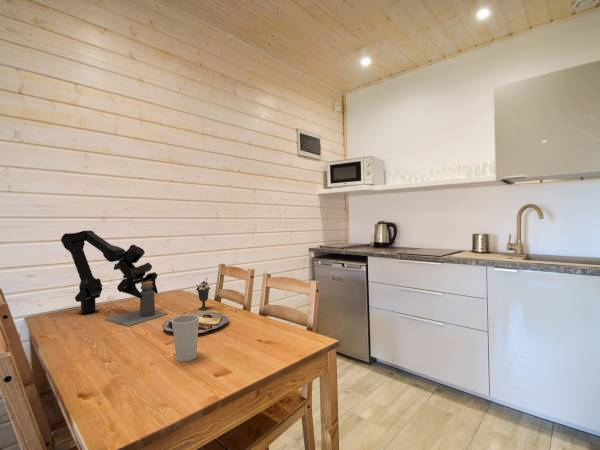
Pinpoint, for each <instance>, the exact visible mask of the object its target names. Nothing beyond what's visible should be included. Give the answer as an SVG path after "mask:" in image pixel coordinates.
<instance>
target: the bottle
mask: <svg viewBox="0 0 600 450" xmlns="http://www.w3.org/2000/svg"><path fill="white" fill-rule="evenodd" d="M152 283H153V282H152V281H145V282H141V283H140V284H141V286H140V289H141V291H139V292H140V293H141V295H142V298H141V299H140V298H139V310H140V316H141V317H149V316H153V315H154V314H155V311H156V307H155V305H156V304H155V301H156V300H155V293H154V291H153V290H152V288H153V285H152Z"/></svg>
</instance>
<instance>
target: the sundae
mask: <svg viewBox="0 0 600 450" xmlns="http://www.w3.org/2000/svg"><path fill="white" fill-rule="evenodd" d="M207 280H208V277H206V278H205V280H203V281H202V282H200V284H196V286H197V288H196V289H195V290H196V291H197V293H198V300H199V301H200V302H201V307H199V308H198V311H207V310H209V309H210V306H209V307H208V306H206V301H208V299H209V293H210V290H211V286H210V285H209V284H208V281H207Z"/></svg>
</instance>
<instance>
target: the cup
mask: <svg viewBox="0 0 600 450" xmlns="http://www.w3.org/2000/svg"><path fill="white" fill-rule="evenodd" d="M182 315H183V314H182ZM182 315H179V317H177V316H175V317H176V318H175V317H173V318H174V319H172V318H171V319H172V328H173V331H172V332H173V343H174V351H175V355H174V357H175V361H177V362H189V361H193V360H194V359H196V358H197V357H198V340H199V339H198V335H199V333H198V332H199V331H198V325H199V316H197V315H183V316H182Z"/></svg>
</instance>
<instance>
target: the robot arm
mask: <svg viewBox="0 0 600 450" xmlns="http://www.w3.org/2000/svg"><path fill="white" fill-rule="evenodd" d="M60 242H61V244H62V245H63V247H64V248H65V250H67V251H68V252H70V254H71V255H70V256H71V257H72V261H73V263H74V266H75V268H76V271H77V275H78V276H79V279H80V283H79V286H78V288H79V292H78V293H77V294H76V295H75V297H74V300H75V302H80V311H78V312H77V314H80V315H83V316H85V315H90V314H94V313H97V312H100V310H98V309H96V299H98V298H99V299H100V297H101V294H102V291H103V284H102V282H101V281H102V280H101V279H100V278H95V277H94V275H93V273H92V270H91V267H90V265H89V262H88V259H87V255H86V253H85V250H84V247H85V244H86V243H85V242H87V243H88V244H90V245H92V246H93V247H94V248H96V249H97V250H99V251H100V253H102V254H103V257H104V258H105V259H106V260H107V261H108V263H109V262H110V263H113V262H116V263H114V267H113V271H116V270H119V271H120V272H121V273H122V274H123V275H122V278H123V279H122V280H121V281H120V282H119V283H118V285H117V287H116V288H117V291H118V292H119V293H123V294H128V295H131V296H134V297H136V298H139V300H140V299H141V298H142V295H141V293H140V292H141V291H140V290H139V289H138V288H137V285H138V284H141V282H145V281H152V282H153V283H152V285H153V288H152V290H153V291H154V294H158V292H159V291H158V288H157V284H156V280H157V279H158V276H159V275H158V274H157V273H156V272H151V269H153V265H152V264H151V263H150V262H146V263H144V264H141V265H139V266H135V265H134V264H136V263H138V262H139V261H140V259H141V258H142V257H143V256H144V254H145V250H144V249H143V248H142V247H140V246H138V245H136V244H131V245H130V246H129V247H128V249H126V250H125V249H124V248H122V247H119V246H117V245H113V244H111V243H109V242H108V241H107V240H106V239H103V238H102V237H100V236H99V235H97V234H96V233H95V231H94V230H89V229H88V230H82V231H79V232H70V233H69V232H67V233H64V234H63V235H62V237H61V238H60ZM147 272H149V273H147ZM144 276H145V277H144Z"/></svg>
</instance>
